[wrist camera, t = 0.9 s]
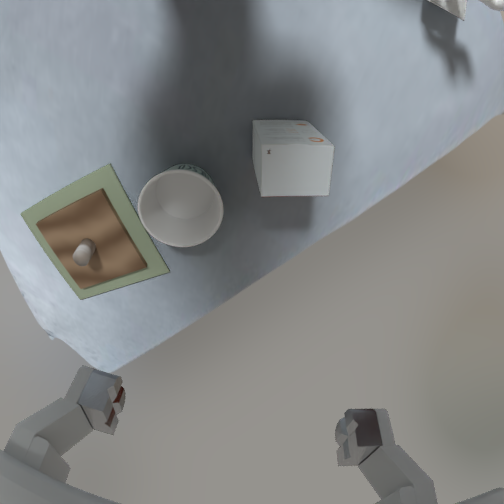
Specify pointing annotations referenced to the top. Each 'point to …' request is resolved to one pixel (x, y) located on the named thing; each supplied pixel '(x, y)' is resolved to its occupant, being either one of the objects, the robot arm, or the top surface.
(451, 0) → the figurine
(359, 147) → the top surface
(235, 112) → the top surface
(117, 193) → the olive mat
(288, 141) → the small box
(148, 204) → the food container
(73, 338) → the top surface
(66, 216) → the walnut lid
